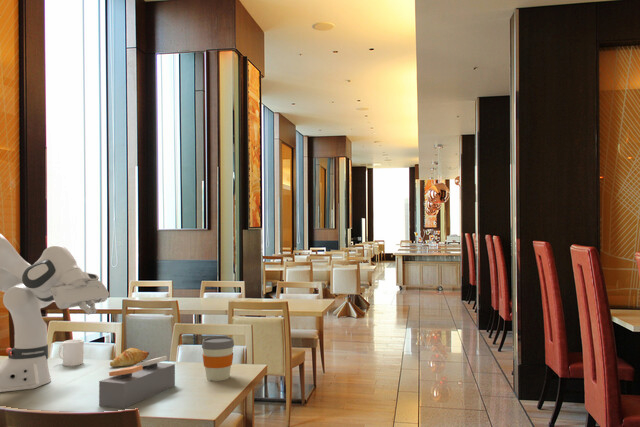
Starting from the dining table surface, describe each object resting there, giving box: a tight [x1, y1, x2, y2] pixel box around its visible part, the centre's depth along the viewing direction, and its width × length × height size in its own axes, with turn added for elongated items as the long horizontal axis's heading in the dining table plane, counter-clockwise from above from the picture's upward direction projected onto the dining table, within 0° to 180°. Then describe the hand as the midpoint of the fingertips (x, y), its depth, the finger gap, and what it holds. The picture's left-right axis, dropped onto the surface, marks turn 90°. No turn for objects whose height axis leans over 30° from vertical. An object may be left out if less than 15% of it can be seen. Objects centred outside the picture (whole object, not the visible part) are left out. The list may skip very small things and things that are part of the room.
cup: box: [58, 338, 85, 367], centre depth 236 cm, size 8×12×10 cm
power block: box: [98, 362, 176, 409], centre depth 188 cm, size 10×28×9 cm, turn 160°
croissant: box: [109, 347, 150, 368], centre depth 236 cm, size 21×10×8 cm, turn 153°
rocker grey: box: [135, 355, 168, 366], centre depth 194 cm, size 10×5×2 cm, turn 71°
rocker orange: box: [108, 365, 143, 377], centre depth 181 cm, size 10×5×2 cm, turn 71°
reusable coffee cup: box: [201, 336, 235, 382], centre depth 210 cm, size 13×13×15 cm
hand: (92, 313), depth 186 cm, fingers closed
